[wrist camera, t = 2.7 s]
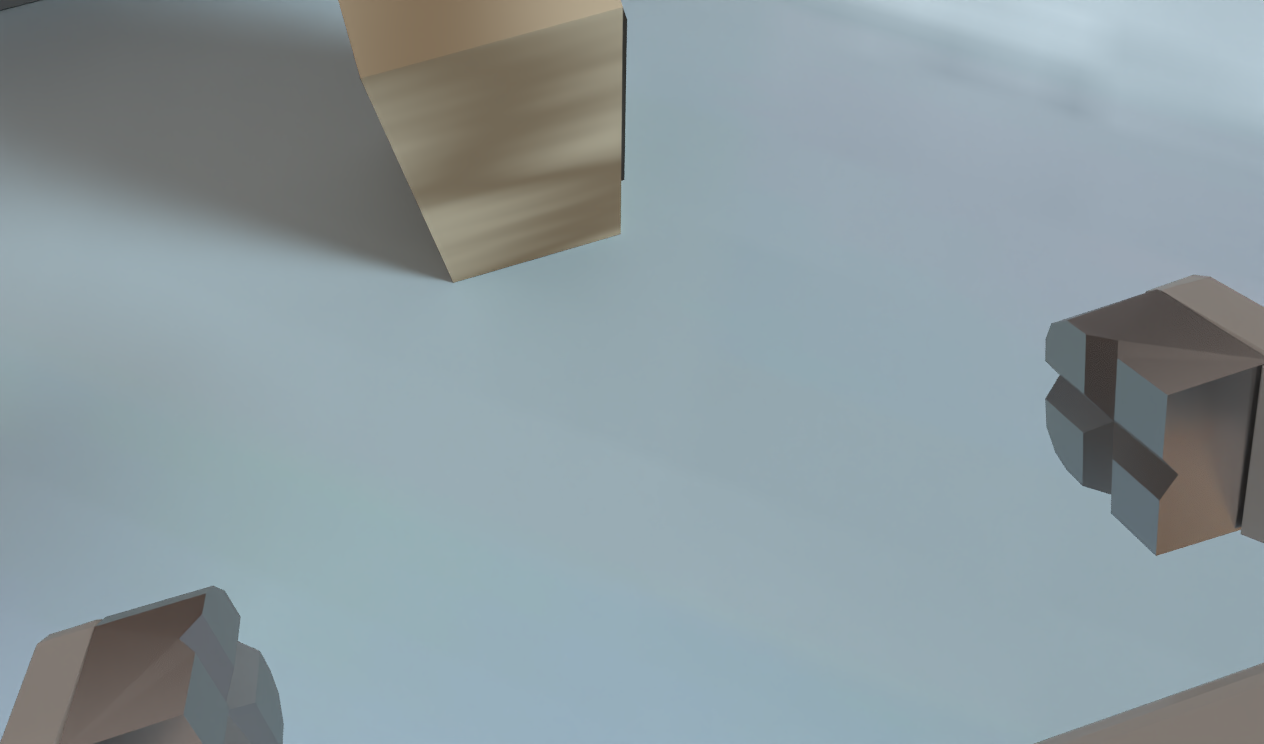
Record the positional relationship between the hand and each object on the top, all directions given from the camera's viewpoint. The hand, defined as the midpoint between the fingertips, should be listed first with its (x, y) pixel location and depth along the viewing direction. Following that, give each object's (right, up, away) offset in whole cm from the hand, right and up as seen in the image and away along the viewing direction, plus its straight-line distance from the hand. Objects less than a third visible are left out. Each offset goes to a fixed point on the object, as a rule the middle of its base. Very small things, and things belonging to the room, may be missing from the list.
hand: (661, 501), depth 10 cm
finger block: (-3, +6, +15) cm, 16 cm away
